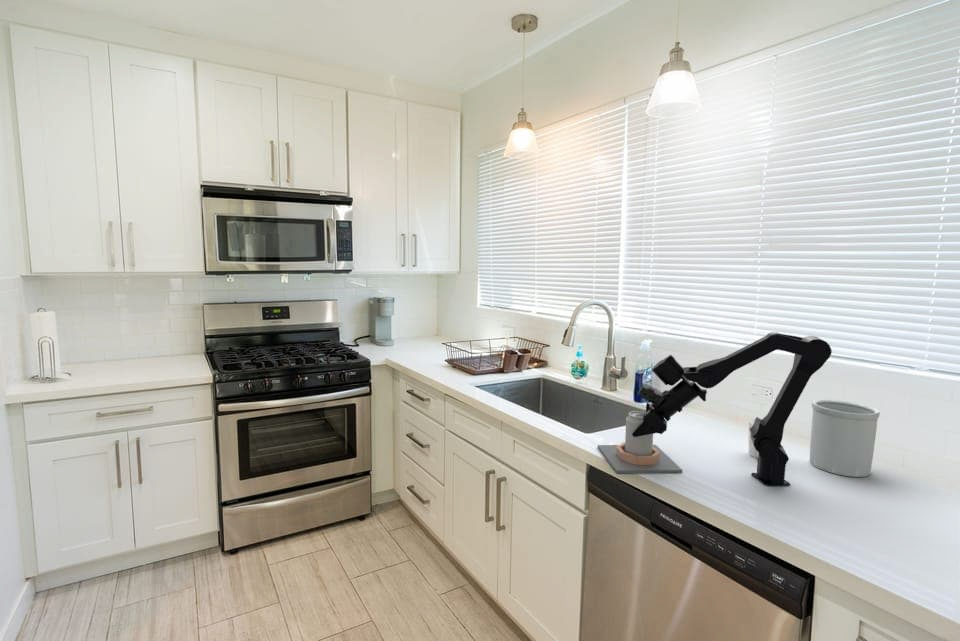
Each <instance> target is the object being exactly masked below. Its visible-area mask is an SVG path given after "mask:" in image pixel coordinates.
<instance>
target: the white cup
mask: <svg viewBox="0 0 960 641" xmlns="http://www.w3.org/2000/svg"><path fill="white" fill-rule="evenodd" d="M755 419H756V418H752V419H749V420H748V454H749V455H750V457H753V458H756V459H758V456H759V452H758V451H757V450H756V449H755V447H754V445H753V442H752V440H751V437H750V434H751V432H750V428H751V427H752V426H753V425H754V422H755ZM760 419H761V420H762V419H763V418H760Z"/></svg>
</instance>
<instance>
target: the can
mask: <svg viewBox="0 0 960 641" xmlns="http://www.w3.org/2000/svg"><path fill="white" fill-rule="evenodd" d="M644 413H646V412H645V411H640V410H632V411H630V412H628V416H626V418H625V437H624V440H625V441H624V442H625V451H626V452H627V453H629V454H633V455H636V456H650V455H651V454H652V448H653V445H654V441H653V440H654V434H648V435H643V436H638V437H634V436H633V435H632V433H633V432H634V431H635V430H636V429H637V427H638V426H639V425H640V424H641V423H642V422H643V416H644Z"/></svg>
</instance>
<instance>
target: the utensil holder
mask: <svg viewBox="0 0 960 641" xmlns="http://www.w3.org/2000/svg"><path fill="white" fill-rule="evenodd" d="M811 408H812V415H811V417H812V419H811V427H810V428H811V430H810V441H809V442H810V443H809V444H810V445H809V462H810V464H811V465H813V466H814V467H816V468H817V469H819V470H822V471H825V472H828V473H831V474H835V475H838V476H839V475H840V476H845V477H851V478H852V477H855V478H863V477H867V476H870V474H871V470H872V464H873V459H874V451H875V442H876V436H877V429H878V420H879V417H880V416H881V415H880V410H879V409H877V408H876V407H873V406H870V405H867V404H863V403H858V402H853V401H848V400H841V399H838V400H837V399H828V398H821V399H820V398H819V399H814V400H813V401H812V403H811Z"/></svg>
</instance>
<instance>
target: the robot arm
mask: <svg viewBox="0 0 960 641" xmlns="http://www.w3.org/2000/svg"><path fill="white" fill-rule="evenodd" d="M777 350H779V351H783V352H787V353H791V354H794V357H793V363H792V367H791V370H790V372H789V373H788V376H787V377H786V378H785V381H784V383H783V385H782V387H781V388H780V390H779V392H778V394H777V396H776V398H775V399H774V402H773V404H772V405H771V407H770V409H769V411H768V412H767V414H766V415H765V416H764V417H763V418H759V417H758V416H757V417H755V418H754V419H755V422H754V425H753V426H752V427H751V428H750V432H751V434H750V437H751V440H752V442H753V445H754V447H755V449H756V450H757V451H758V452H759V456H758V458H757V462H756V463H757V465H756V472H752V473H751V477H753V478H755V479H756V480H757V481H759V482H761V483H762V484H763V485H764V486H768V487H769V486H790V485H791V483H790V482H789V481H787V479H785V478H786V477H785V476H786V466H787V463H788V461H789V459H790V458H789V456H788V454H787V452H786V450H785V449H784V447H783V445H782V444H781V443H782V440H783V436H784V430H785V429H784V428H785V425H786V423H787V421H788V419H789V417H790V415H791V414H792V412H793V410H794V409H795V406H796V405H797V403H798V401H799V399H800V397H801V395H802V393H804V392H803V391H804V390H805V388H806V386H807V384H808V382H809V380H810V379H811V377H812V376H813V375H814V374H815V373H816V372H818V371H819V370H820V369H821V368H823V366H824V365H825V363H827V361H828V360H829V359H830V357H831V355H832V352H833V351H832V347H831V346H830V344H829V343H828V342H827V341H825V340H824V339H821V338H820V337H818V336H815V335H807V336H805V337H800V336H795V335H789V334H784V333H780V332H778V331H777V332H776V331H772V332H769V333H767V335H765V336H763V337H760V338H759V339H757V340H755V341H754V342H751V343H749V344H747V345H745V346H744V347H741V348H739V349H737V350H736V351H734V352H732V353H729V354H728V355H726V356H724V357H720V358H717V359H715V358H714V359H712V360H709V361H708V360H707V361H706V362H702V363H700V364H698V365H697V366H686V367H683V366H682V365H681V364H680V363H679V361H677V360H676V358H675V356H673V355H672V354H669V355H668V356H667V357H664V359H661V360H659V361H658V362H657V363H655V365H654V366H653V367H652V368H651V370H650V371H651V372H653V374H654V375H655V376H656V377H657V378H658V379H659V380H660V381H661V382H662V383H663V384H664V385H665V386H667V385H668V386H673V387H672V388H670V389H669V390H668V389H666V390H664V391H663V392H662V391H661V390H658V389H657V388H656V387H653V386H652V385H650V384H648V383H645V382H643V383H642V385H641V386H640V388H639V390H638V391H637V396H638V397H639V398H640V399H644V400H646V401H647V402H646V404H645V411H644V412H646V413H644V416H643V422H642V423H641V424H640V425H639V426H638V427H637V429H636V430H635V431H634V432H633V433H632V435H633V436H634V437H638V436H643V435H648V434H653V435H654V434H659V435H663V434H664V433H665V432H666V431H667V430H668V429H667V428H668V422H669V421H670V420H671V417H673V416H675V414H676V413H677V414H678V413H680V412H682V411H683V408H685V407H686V406H687V405H688V404H690V403H691V402H692V401H693V400H695V399H697V398H700V399H701V400H702V401H703V402H706V401H707V399H706V398H707V397H706V396H707V393H708V391H707V389H712V388H714V387H716V386H718V385H719V384H720V383H721V382H722V381H724V380H725V379H726V378H727V377H728V376H729V375H731V374H732V373H733V372H735V371H737V370H738V369H740V368H742V367H744V366H747V365H748V364H751V363H753V362H755V361H757V360H758V359H761V358H762V357H764V356H767V355H769V354H771V353H773V352H775V351H777ZM680 380H681V381H680ZM703 388H704V389H703ZM761 419H762V420H761Z"/></svg>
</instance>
